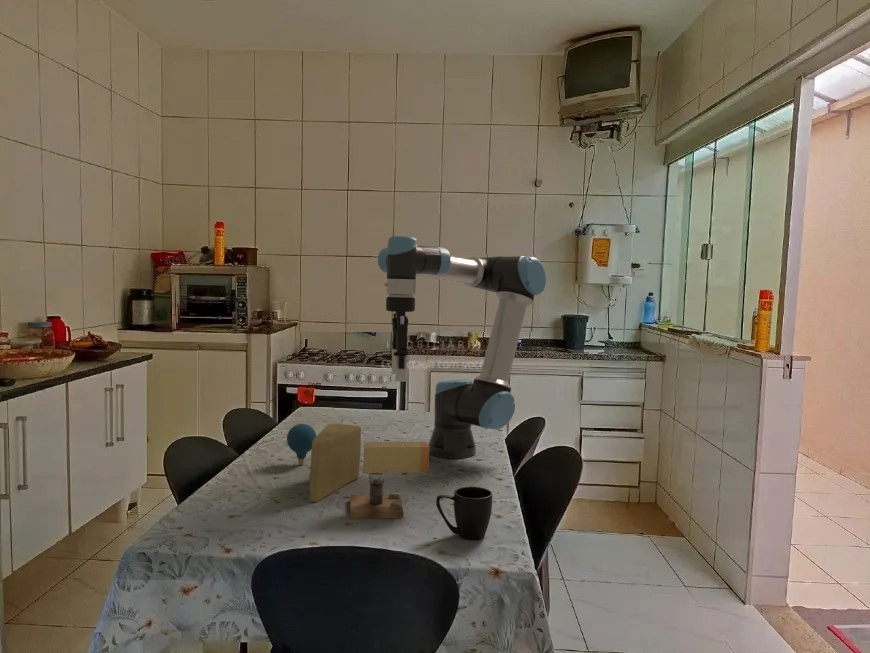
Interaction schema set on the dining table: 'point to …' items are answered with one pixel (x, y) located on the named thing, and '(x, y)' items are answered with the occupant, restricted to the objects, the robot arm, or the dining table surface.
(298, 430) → the light bulb
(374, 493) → the wooden base plate
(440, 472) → the dining table surface
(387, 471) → the two-tone wooden block
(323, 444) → the cheese
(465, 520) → the mug
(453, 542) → the dining table surface
